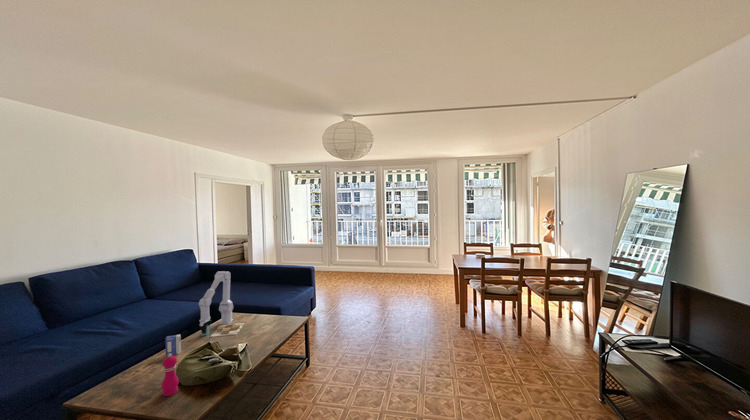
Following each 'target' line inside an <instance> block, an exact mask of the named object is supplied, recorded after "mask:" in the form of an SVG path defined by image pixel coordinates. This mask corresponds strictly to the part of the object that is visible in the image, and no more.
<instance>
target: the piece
mask: <svg viewBox="0 0 750 420" xmlns="http://www.w3.org/2000/svg"><path fill="white" fill-rule="evenodd" d="M210 332H211V331H210V327H209V325H208V326H207V327H206V333H205V334H202V333H201V337H205V336H204V335H206V336H208V335H209V334H210Z"/></svg>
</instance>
